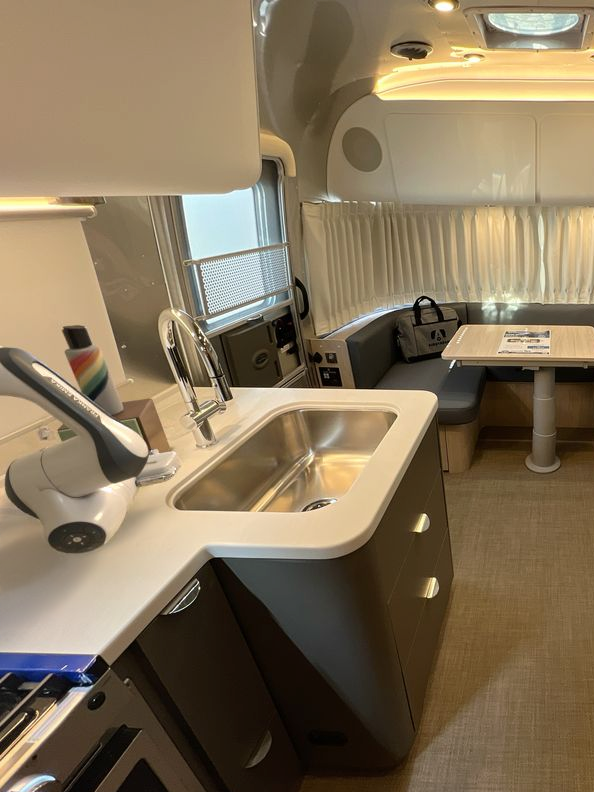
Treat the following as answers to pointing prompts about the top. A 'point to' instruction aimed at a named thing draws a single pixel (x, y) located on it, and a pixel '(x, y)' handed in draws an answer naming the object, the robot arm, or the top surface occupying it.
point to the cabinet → (144, 423)
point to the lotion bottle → (91, 369)
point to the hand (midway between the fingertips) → (127, 457)
